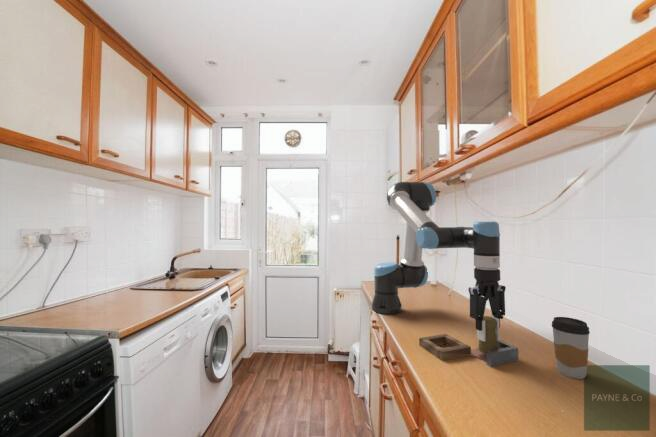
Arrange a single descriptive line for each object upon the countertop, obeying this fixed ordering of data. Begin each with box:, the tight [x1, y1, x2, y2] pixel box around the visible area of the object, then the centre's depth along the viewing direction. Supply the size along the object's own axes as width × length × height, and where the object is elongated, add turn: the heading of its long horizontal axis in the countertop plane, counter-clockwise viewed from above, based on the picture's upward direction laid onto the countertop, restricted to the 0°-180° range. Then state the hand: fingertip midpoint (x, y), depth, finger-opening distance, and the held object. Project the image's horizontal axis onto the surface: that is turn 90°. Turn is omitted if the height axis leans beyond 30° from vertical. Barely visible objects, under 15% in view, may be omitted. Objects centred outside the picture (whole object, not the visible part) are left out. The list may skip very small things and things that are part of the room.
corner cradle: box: [471, 339, 520, 368], centre depth 91 cm, size 12×12×4 cm
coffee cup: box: [551, 316, 590, 380], centre depth 80 cm, size 8×8×15 cm
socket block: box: [418, 333, 472, 361], centre depth 95 cm, size 12×12×3 cm
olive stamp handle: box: [477, 315, 499, 354], centre depth 91 cm, size 6×6×11 cm
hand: (488, 338), depth 91 cm, fingers closed on olive stamp handle, 5 cm apart
